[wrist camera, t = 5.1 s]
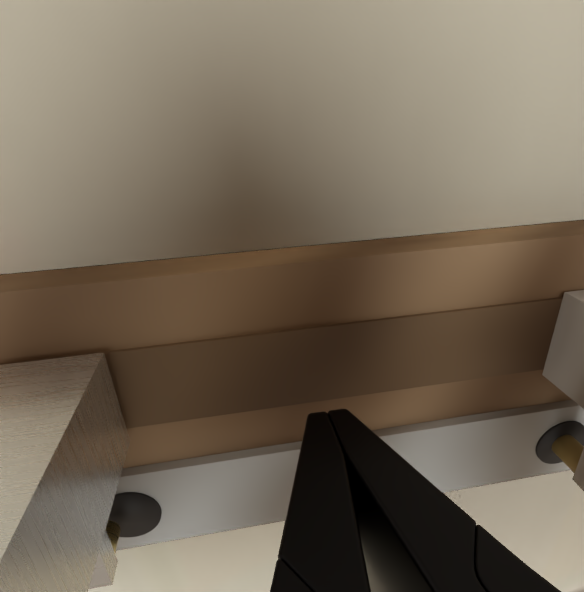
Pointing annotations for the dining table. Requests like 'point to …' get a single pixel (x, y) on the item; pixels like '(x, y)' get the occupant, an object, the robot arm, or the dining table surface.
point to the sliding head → (59, 474)
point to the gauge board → (321, 363)
